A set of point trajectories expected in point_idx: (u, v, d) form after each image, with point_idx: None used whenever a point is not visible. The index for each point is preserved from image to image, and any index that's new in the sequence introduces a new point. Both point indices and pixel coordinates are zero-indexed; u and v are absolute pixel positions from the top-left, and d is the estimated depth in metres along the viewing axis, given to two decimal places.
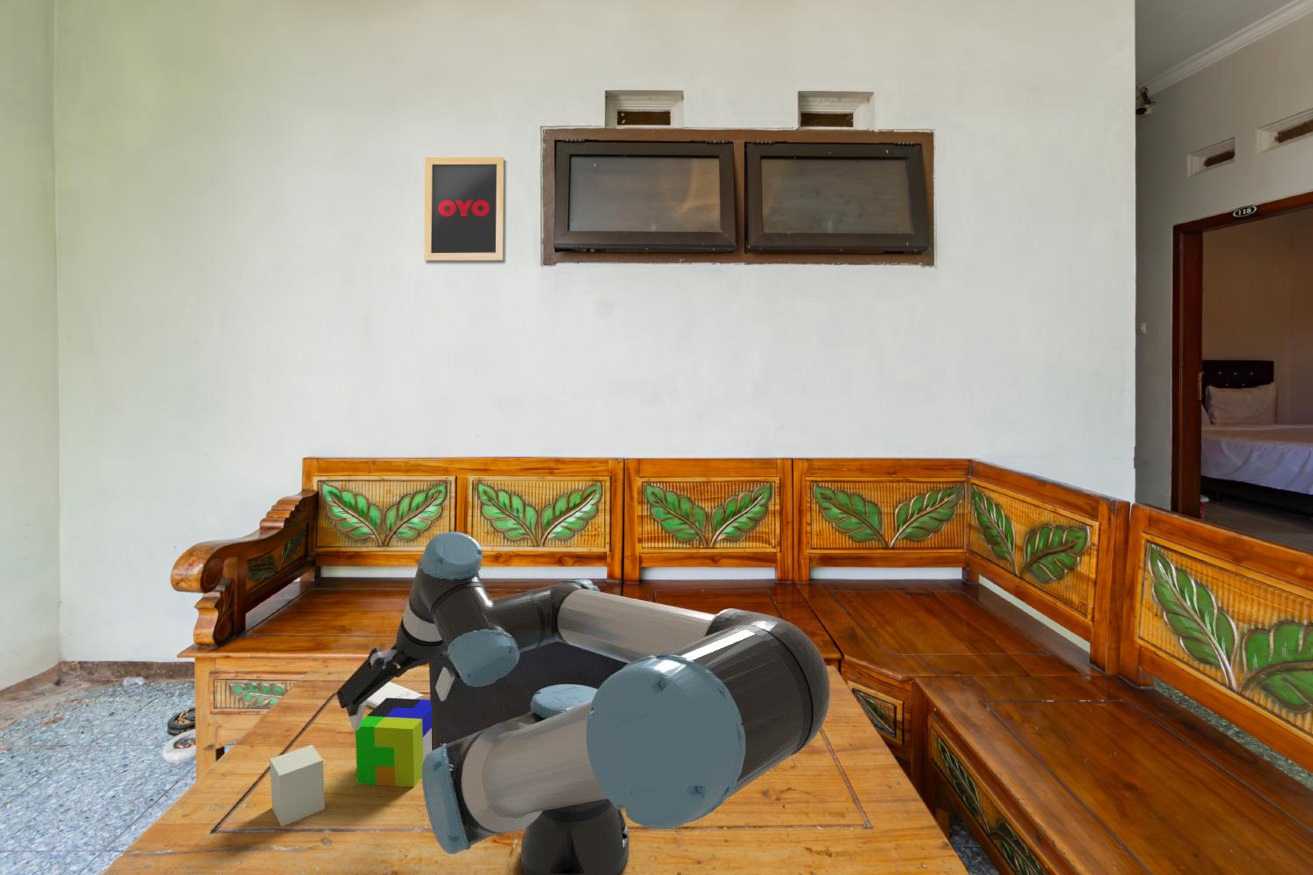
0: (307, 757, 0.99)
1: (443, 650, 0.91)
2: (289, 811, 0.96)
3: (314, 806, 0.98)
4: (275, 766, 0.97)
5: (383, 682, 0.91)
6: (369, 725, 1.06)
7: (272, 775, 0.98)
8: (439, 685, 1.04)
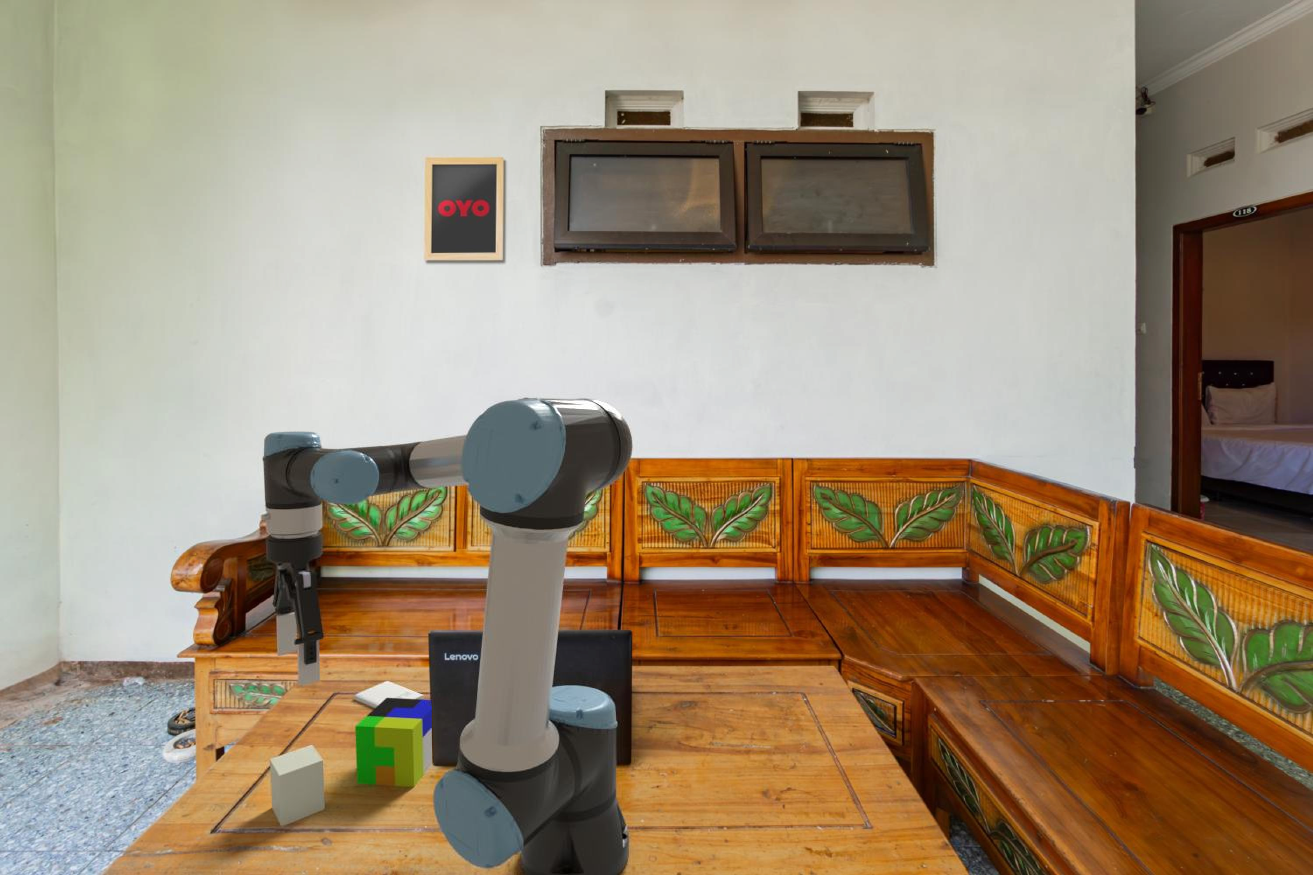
0: (307, 757, 0.99)
1: None
2: (289, 811, 0.96)
3: (314, 806, 0.98)
4: (275, 766, 0.97)
5: None
6: (369, 725, 1.06)
7: (272, 775, 0.98)
8: (284, 644, 1.03)
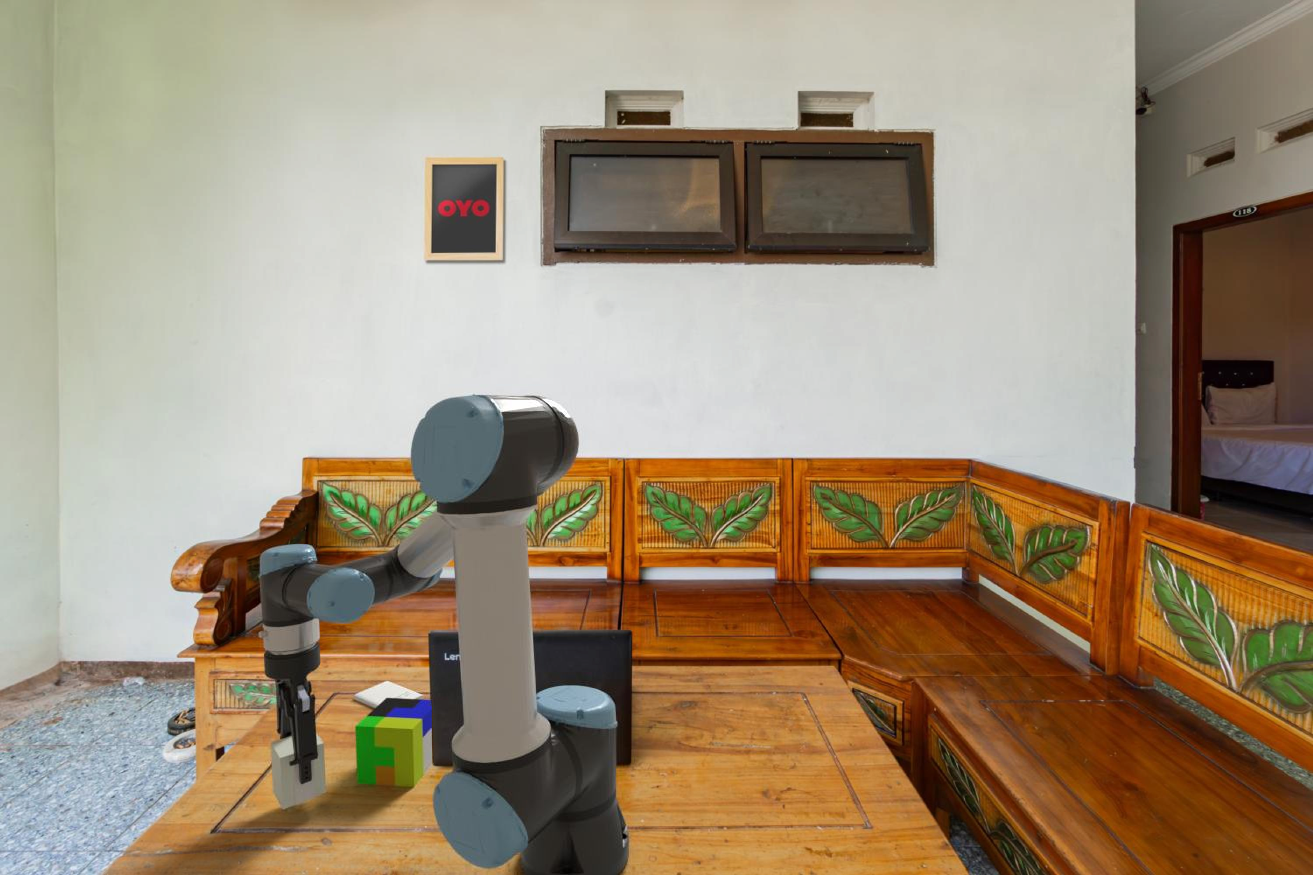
0: None
1: None
2: (290, 794, 0.96)
3: (315, 789, 0.98)
4: (276, 749, 0.97)
5: None
6: (369, 725, 1.06)
7: (273, 758, 0.98)
8: None
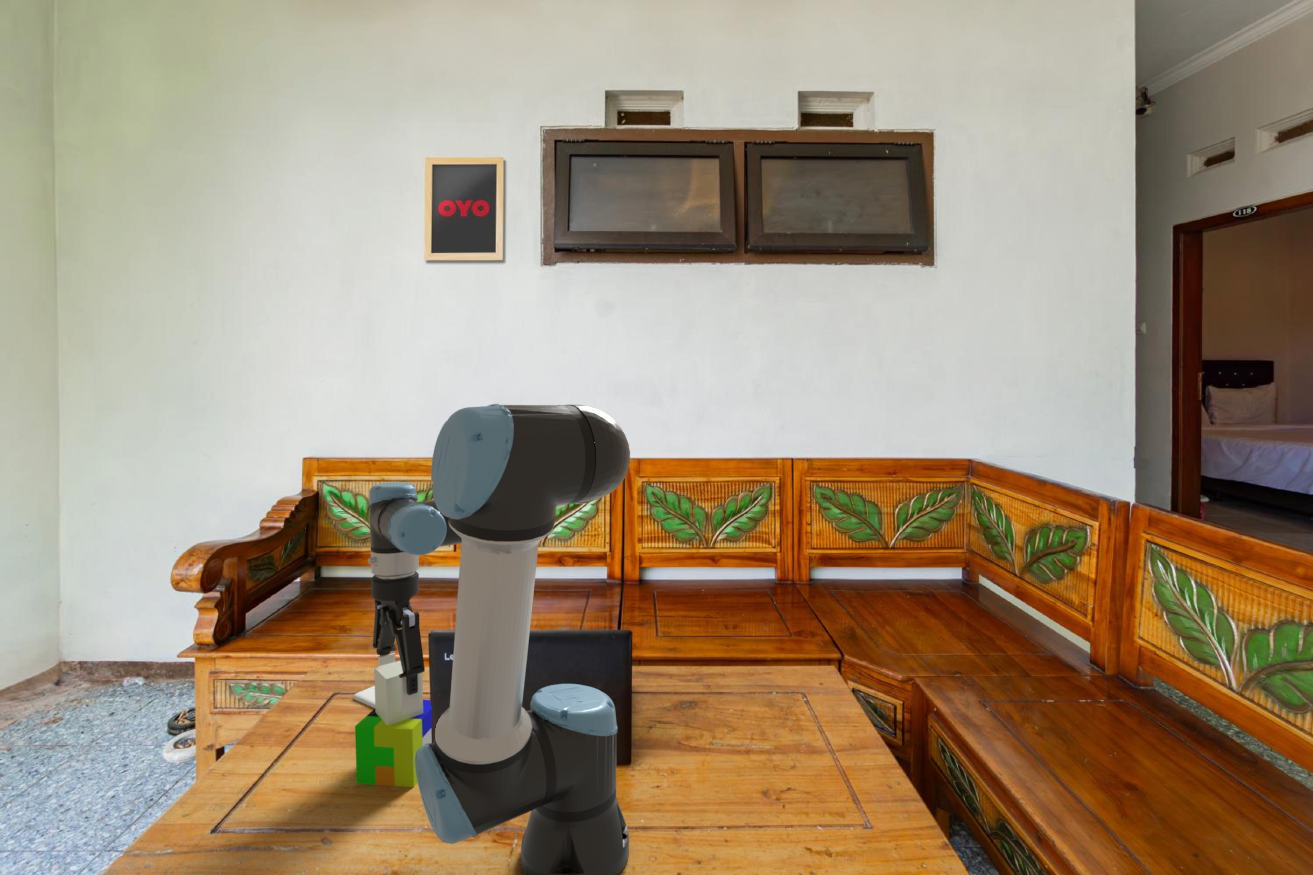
0: None
1: None
2: (393, 712, 1.06)
3: None
4: (380, 672, 1.07)
5: None
6: (369, 725, 1.06)
7: (377, 681, 1.08)
8: None
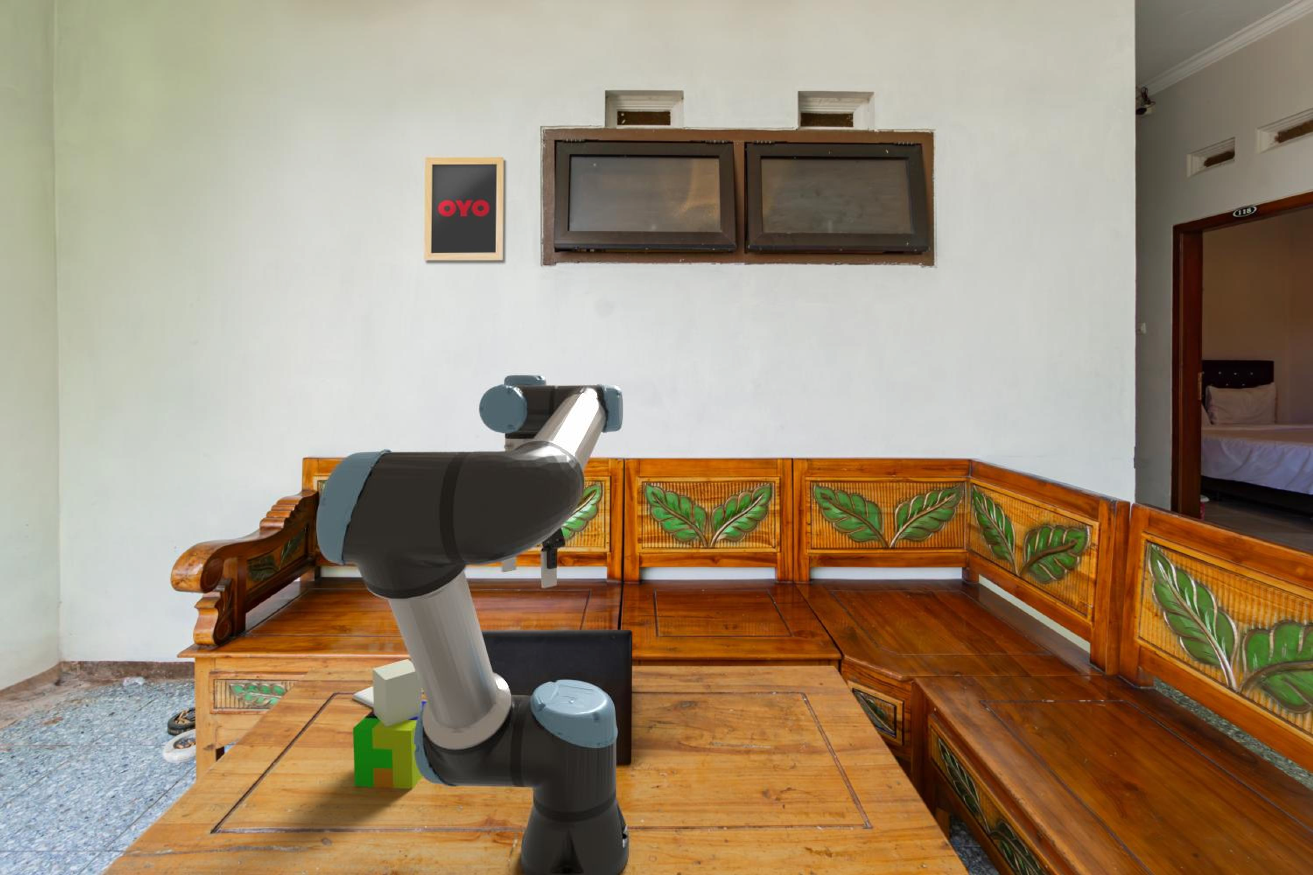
0: (406, 667, 1.09)
1: None
2: (392, 713, 1.06)
3: (413, 711, 1.08)
4: (379, 673, 1.07)
5: None
6: (367, 727, 1.05)
7: (375, 683, 1.08)
8: (507, 562, 1.19)
